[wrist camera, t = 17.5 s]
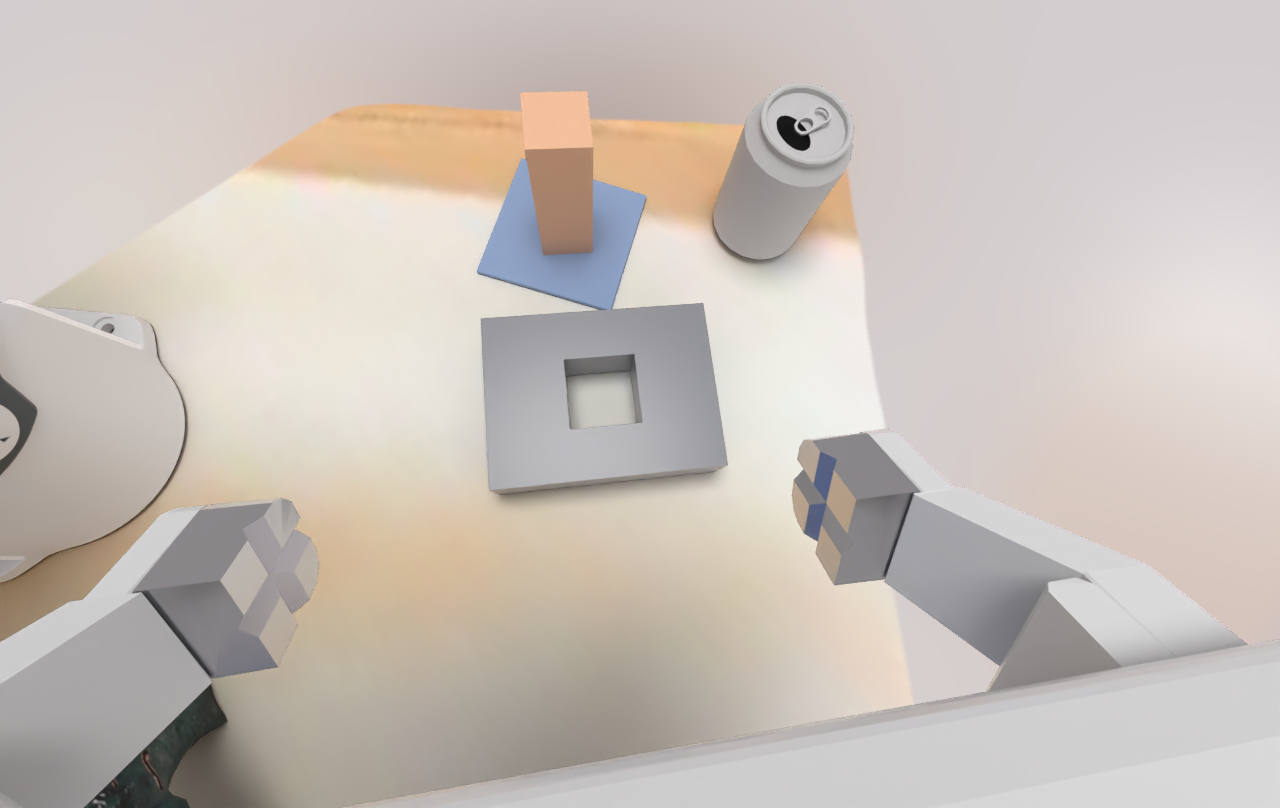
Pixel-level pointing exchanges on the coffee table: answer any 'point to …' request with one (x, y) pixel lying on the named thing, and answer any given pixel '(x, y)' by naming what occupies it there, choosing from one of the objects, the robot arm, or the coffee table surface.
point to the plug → (560, 168)
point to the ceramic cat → (161, 760)
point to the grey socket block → (589, 344)
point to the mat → (563, 275)
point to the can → (783, 169)
